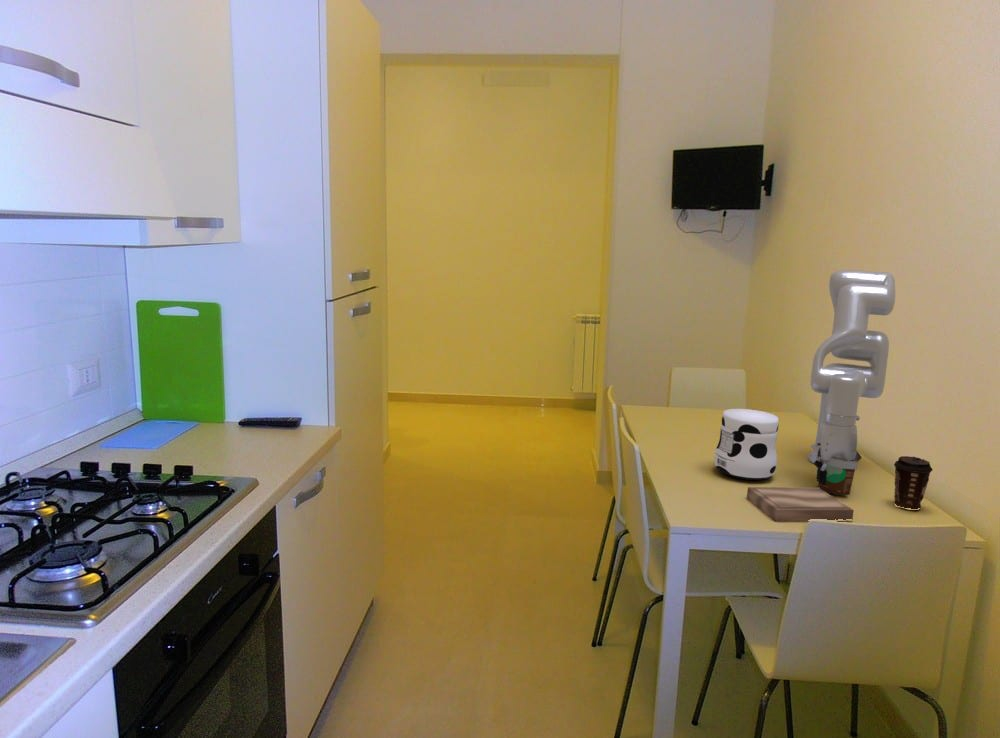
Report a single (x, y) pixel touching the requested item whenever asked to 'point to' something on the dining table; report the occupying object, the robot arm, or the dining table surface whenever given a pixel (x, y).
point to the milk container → (747, 444)
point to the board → (798, 504)
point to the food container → (838, 476)
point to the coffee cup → (911, 481)
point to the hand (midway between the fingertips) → (831, 482)
